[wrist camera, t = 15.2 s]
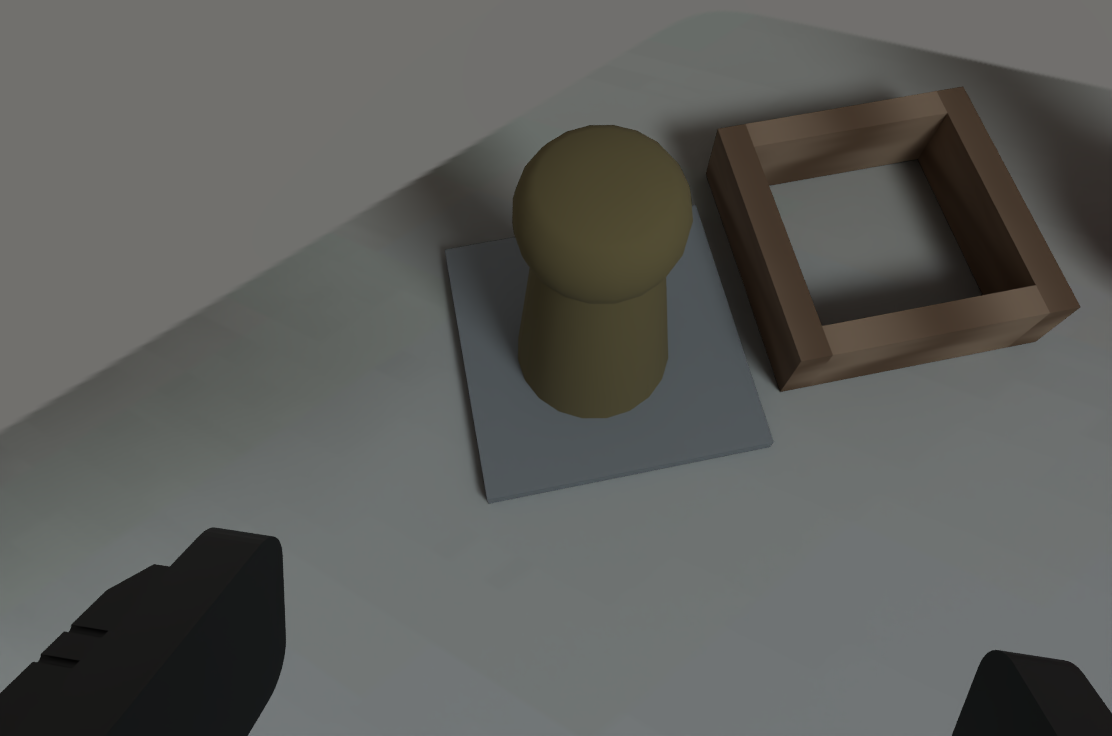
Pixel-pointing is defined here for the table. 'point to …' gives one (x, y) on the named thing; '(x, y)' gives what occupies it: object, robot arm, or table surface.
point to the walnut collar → (964, 196)
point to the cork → (598, 267)
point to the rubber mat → (619, 441)
